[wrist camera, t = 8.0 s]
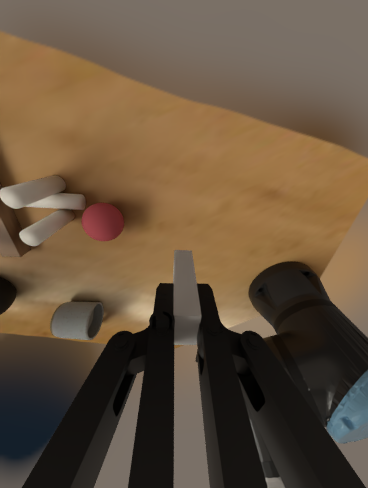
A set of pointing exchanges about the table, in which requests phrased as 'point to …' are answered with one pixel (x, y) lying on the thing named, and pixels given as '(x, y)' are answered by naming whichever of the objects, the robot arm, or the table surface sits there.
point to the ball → (102, 221)
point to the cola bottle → (6, 295)
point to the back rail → (10, 233)
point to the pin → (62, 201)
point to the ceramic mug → (77, 320)
